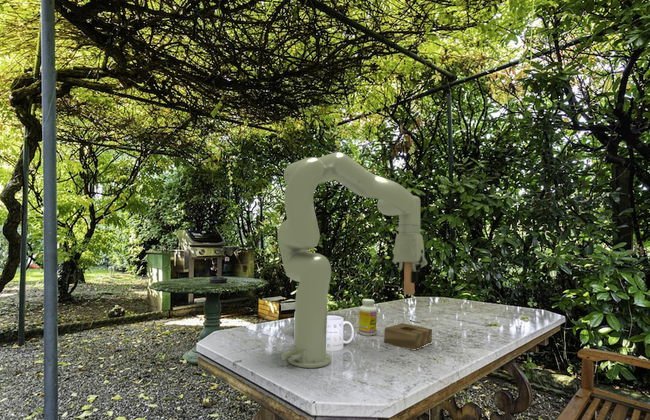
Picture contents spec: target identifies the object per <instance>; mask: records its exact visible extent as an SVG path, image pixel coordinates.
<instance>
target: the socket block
mask: <svg viewBox="0 0 650 420" xmlns="http://www.w3.org/2000/svg"><path fill="white" fill-rule="evenodd" d="M383 332H384V335H383V337H384V340H383V344H387V343H389V344H388V345H391V344H392V346H395V345H396V346H395V347H399V346H400V348H403V347H405V348H404V349H406V348H410V349H417V348H420V347H422V346H424V345H426V344H428V343H431V342H432V343H433V329H432V328H427V327H422V326H418V325H414V324H413V325H412V324H408V323H405V322H404V323H403V322H402V323H399V324H394V325H391V326H388V327H384V331H383ZM410 349H409V350H410ZM420 349H421V348H420Z"/></svg>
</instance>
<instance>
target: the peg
mask: <svg viewBox="0 0 650 420" xmlns="http://www.w3.org/2000/svg"><path fill="white" fill-rule="evenodd" d="M412 271H413V267H412V263H409V262H404V282H403V294H404V295H415V283H411V272H412Z"/></svg>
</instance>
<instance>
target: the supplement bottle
mask: <svg viewBox="0 0 650 420" xmlns="http://www.w3.org/2000/svg"><path fill="white" fill-rule="evenodd" d="M361 303H362V305H361V306H359V313H358V315H359V316H358V317H359V319H358V321H359V322H358V333H359V335H361V336H367V337H371V336H372V335H373V336H375V335H377V321H378V320H377V317H378V316H377V315H378V314H377V312H378V311H377V307H376V306H375V300H374V299H373V298H371V299H370V298H363V299H362V300H361Z"/></svg>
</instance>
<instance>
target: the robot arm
mask: <svg viewBox="0 0 650 420" xmlns="http://www.w3.org/2000/svg"><path fill="white" fill-rule="evenodd" d="M283 180H284V182H285V184H286V188H285V191H284V198H283V199H284V208H285V215H286V220H284V221H283V222H281V223H280V225H279V228H278V230H277V242H278V247H279V253H280V256H281V260H282V261H281V262H282V265H283V269H284V272H285V273H286V275H287V277H288V278H289V279H291V280H292V281H295V282H298V287H297V290H296V294H295V301H294V302H295V303H294V305H295V307H294V309H295V311H294V329H293V330H294V333H293V335H294V337H293V345H291V347H290V349H289V350H288V351H285V352H282V353H281V354H280V358H281V359H282V361H285V360H287V361H288V363H290V364H291V365H293V366H295V367H299V368H305V369H306V368H308V369H309V368H310V369H315V368H317V369H318V368H322V367H326V366H328V365H329V364H331V362H332V356H331V355H330V354H328V353H326V352H327V327H328V325H327V323H328V296H329V287H330V282H331V278H332V265H331V262H330V261H329V259H328V258H327V257H326V256H324V255H322V254H321V253H317V252H309V250H311V249H314V248H315V247H317V245H318V244H319V242H320V237H321V233H320V228H319V225H318V224H319V223H318V219H317V216H316V210H315V203H314V195H315V191H316V188H317V187H318V185H319V184H323V183H326V182H329V181H336V182H338V183H340V184H341V185H343V186H344V187H346V189H348V190H349V191H351V192H352V193H354V194H355V195H357V196H361V197H365V198H369V199H377V205H376V207H377V210H378V212H380V214H382V215H385V216H389V217H391V216H398V226H397V227H396V228H395V230H396V232H397V231H398V233H397V234H396V236H395V240H394V241H395V242H394V248H393V258H392V261H391V262H392V263H393V264H394V265H396V266H397V268H398V270H399V271H400V282H401V283H404V262H409V263H412V267H413V271H412V272H411V283H414V284H416V283H418V281H419V272H420V270H421V269H422V268H424V267H425V266H427V264H428V261H427V259H426V257H425V245H424V238H423V235H422V234H421V198H420V197H419V196H417V195H413V194H412V192H411V191H409V189H407V188H405V187H404V186H402V184H399V183H398V182H396V181H394V180H391V179H388V178H385V177H383V176H380V175H377V174H374V173H373V172H370V171H369V170H368V169H366V168H365V167H364V166H362V165H361V164H360V163H358V161H356V160H354V159H353V158H351V157H350V156H349V155H348V154H347V153H343V152H340V151H336V152H333V153H329V154H326V155H323V156H320V157H314V156H310V157H306V158H302V159H300V160H298V161H294V162H292V163H290V164H289V165H287V166H286V167H285V169H284V171H283Z"/></svg>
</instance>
